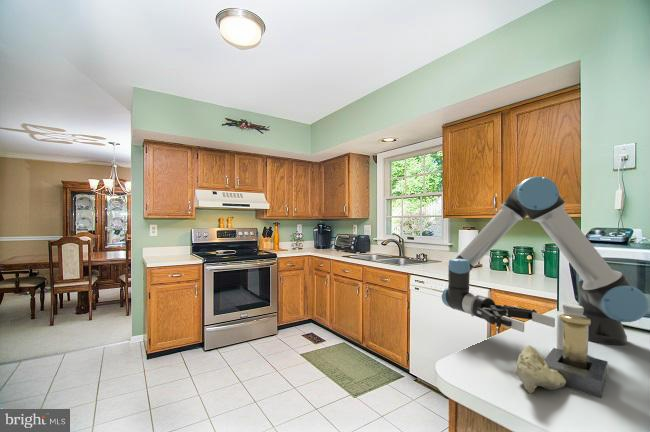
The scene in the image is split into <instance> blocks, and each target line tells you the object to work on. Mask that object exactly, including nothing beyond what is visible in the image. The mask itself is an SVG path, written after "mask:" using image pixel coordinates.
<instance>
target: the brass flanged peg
mask: <svg viewBox="0 0 650 432" xmlns="http://www.w3.org/2000/svg"><path fill="white" fill-rule="evenodd" d="M560 320H561V321H563V364H567V365H570V366H574V367H577V368H581V369H585V370H587V356H588V355H587V326H589V325H591V320H590V319H589V318H587V317H583V316H579V315H574V314H560Z"/></svg>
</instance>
